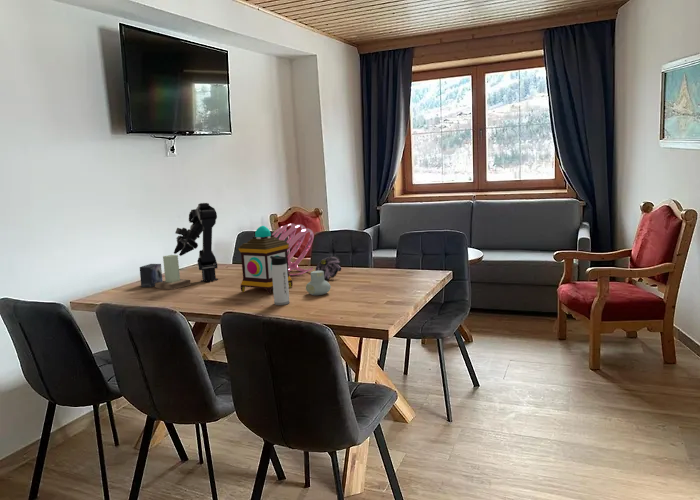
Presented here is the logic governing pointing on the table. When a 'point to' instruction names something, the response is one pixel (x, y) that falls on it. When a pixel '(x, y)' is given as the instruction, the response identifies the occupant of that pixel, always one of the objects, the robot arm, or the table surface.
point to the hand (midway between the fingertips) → (176, 254)
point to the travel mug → (280, 280)
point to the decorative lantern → (261, 259)
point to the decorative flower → (329, 267)
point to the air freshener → (317, 284)
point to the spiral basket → (291, 241)
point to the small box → (150, 275)
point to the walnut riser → (172, 284)
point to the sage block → (171, 268)
